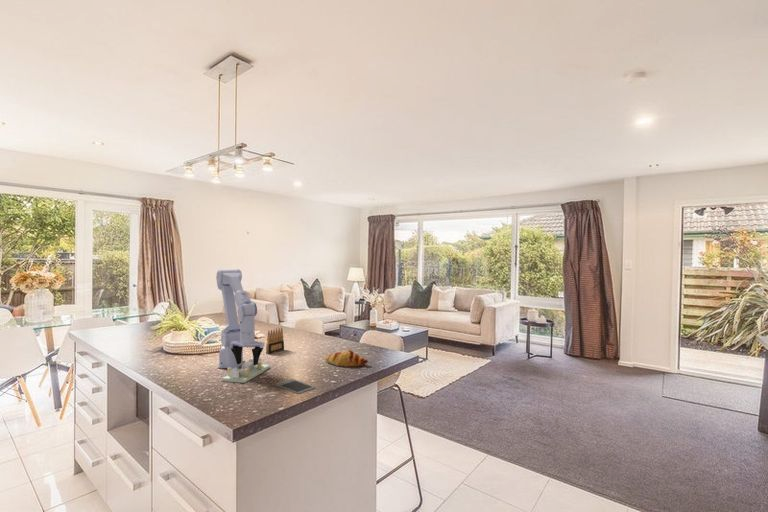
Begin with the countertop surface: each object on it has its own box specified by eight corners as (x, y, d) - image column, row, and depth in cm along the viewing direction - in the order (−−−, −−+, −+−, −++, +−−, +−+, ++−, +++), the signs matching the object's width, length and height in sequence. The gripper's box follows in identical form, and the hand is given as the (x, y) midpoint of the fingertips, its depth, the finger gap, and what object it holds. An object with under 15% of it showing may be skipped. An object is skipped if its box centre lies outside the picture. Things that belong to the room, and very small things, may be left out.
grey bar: (240, 378, 142) (240, 371, 142) (228, 377, 143) (228, 370, 143) (263, 365, 160) (263, 358, 160) (252, 364, 161) (252, 358, 161)
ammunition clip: (268, 354, 183) (268, 330, 183) (266, 353, 184) (266, 330, 184) (284, 349, 192) (284, 327, 193) (281, 349, 193) (281, 326, 193)
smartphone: (316, 388, 135) (316, 387, 135) (298, 395, 129) (298, 393, 129) (292, 380, 145) (292, 378, 145) (274, 385, 139) (274, 384, 139)
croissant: (322, 371, 167) (318, 358, 163) (331, 356, 175) (327, 343, 172) (365, 374, 160) (362, 361, 157) (372, 358, 169) (369, 345, 165)
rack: (221, 381, 143) (221, 370, 143) (249, 366, 163) (249, 357, 163) (244, 382, 141) (244, 372, 141) (270, 367, 161) (270, 358, 161)
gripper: (225, 333, 149) (225, 366, 149) (258, 334, 147) (258, 367, 147) (235, 329, 156) (235, 361, 156) (266, 330, 154) (266, 363, 153)
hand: (247, 364), depth 152 cm, fingers open, 7 cm apart
